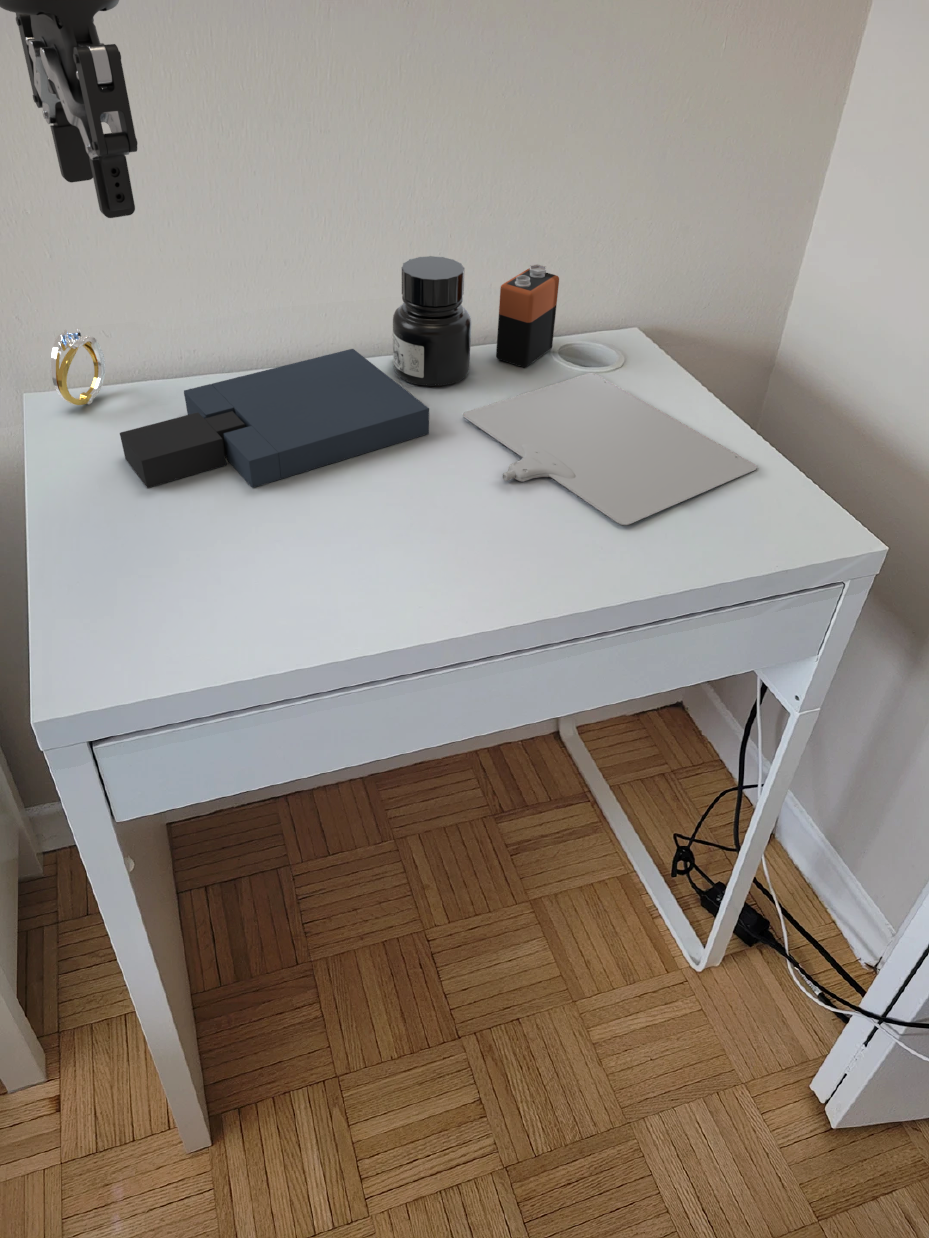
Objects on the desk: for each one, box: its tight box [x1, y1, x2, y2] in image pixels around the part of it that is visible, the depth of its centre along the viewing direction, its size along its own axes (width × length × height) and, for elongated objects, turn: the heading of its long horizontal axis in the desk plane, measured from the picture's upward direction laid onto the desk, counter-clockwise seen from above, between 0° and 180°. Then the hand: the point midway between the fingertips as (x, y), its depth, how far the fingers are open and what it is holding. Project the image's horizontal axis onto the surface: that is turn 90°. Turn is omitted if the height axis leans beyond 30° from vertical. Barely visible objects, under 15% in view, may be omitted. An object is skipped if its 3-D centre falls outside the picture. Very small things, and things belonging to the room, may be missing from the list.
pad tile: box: [119, 411, 245, 489], centre depth 93 cm, size 11×6×3 cm, turn 124°
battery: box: [495, 263, 560, 368], centre depth 111 cm, size 4×7×10 cm, turn 147°
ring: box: [50, 327, 106, 406], centre depth 99 cm, size 7×3×8 cm, turn 156°
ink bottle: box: [392, 255, 473, 387], centre depth 106 cm, size 10×9×12 cm
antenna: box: [462, 372, 758, 526], centre depth 98 cm, size 25×24×1 cm
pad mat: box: [183, 348, 430, 489], centre depth 99 cm, size 20×16×3 cm
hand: (98, 197), depth 67 cm, fingers open, 8 cm apart
